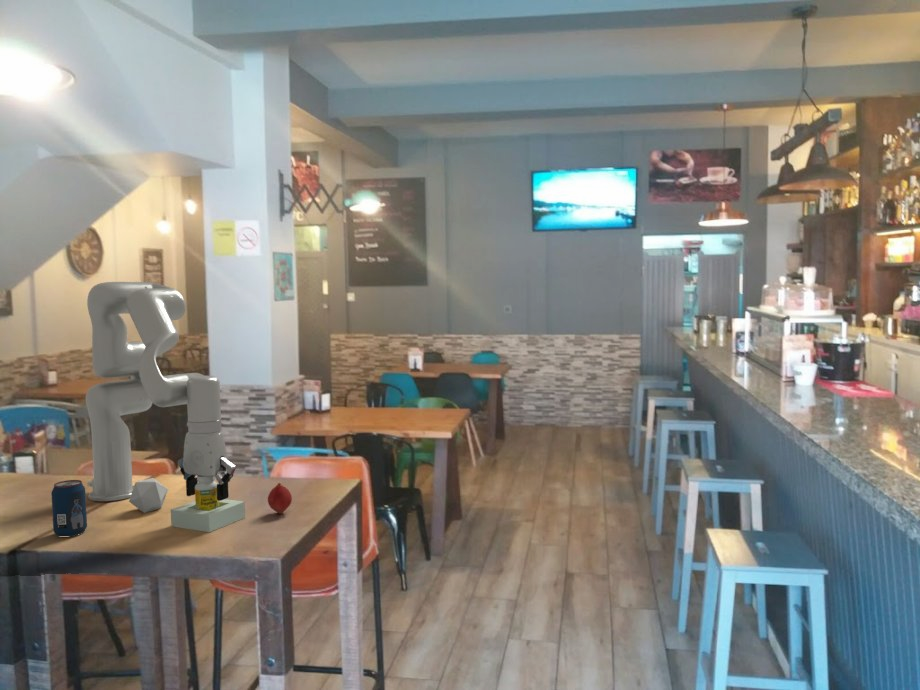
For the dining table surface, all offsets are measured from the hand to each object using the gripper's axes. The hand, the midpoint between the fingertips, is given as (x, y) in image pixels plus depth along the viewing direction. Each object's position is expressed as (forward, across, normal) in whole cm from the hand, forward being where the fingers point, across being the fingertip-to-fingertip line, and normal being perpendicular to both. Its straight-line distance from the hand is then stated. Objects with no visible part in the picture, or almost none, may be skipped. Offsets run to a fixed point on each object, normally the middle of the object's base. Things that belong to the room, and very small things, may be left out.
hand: (207, 497), depth 177 cm
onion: (+6, +12, +12) cm, 18 cm away
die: (+6, -22, +2) cm, 23 cm away
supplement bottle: (+4, 0, 0) cm, 4 cm away
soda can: (+6, -24, -19) cm, 31 cm away
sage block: (+6, 0, 0) cm, 6 cm away
